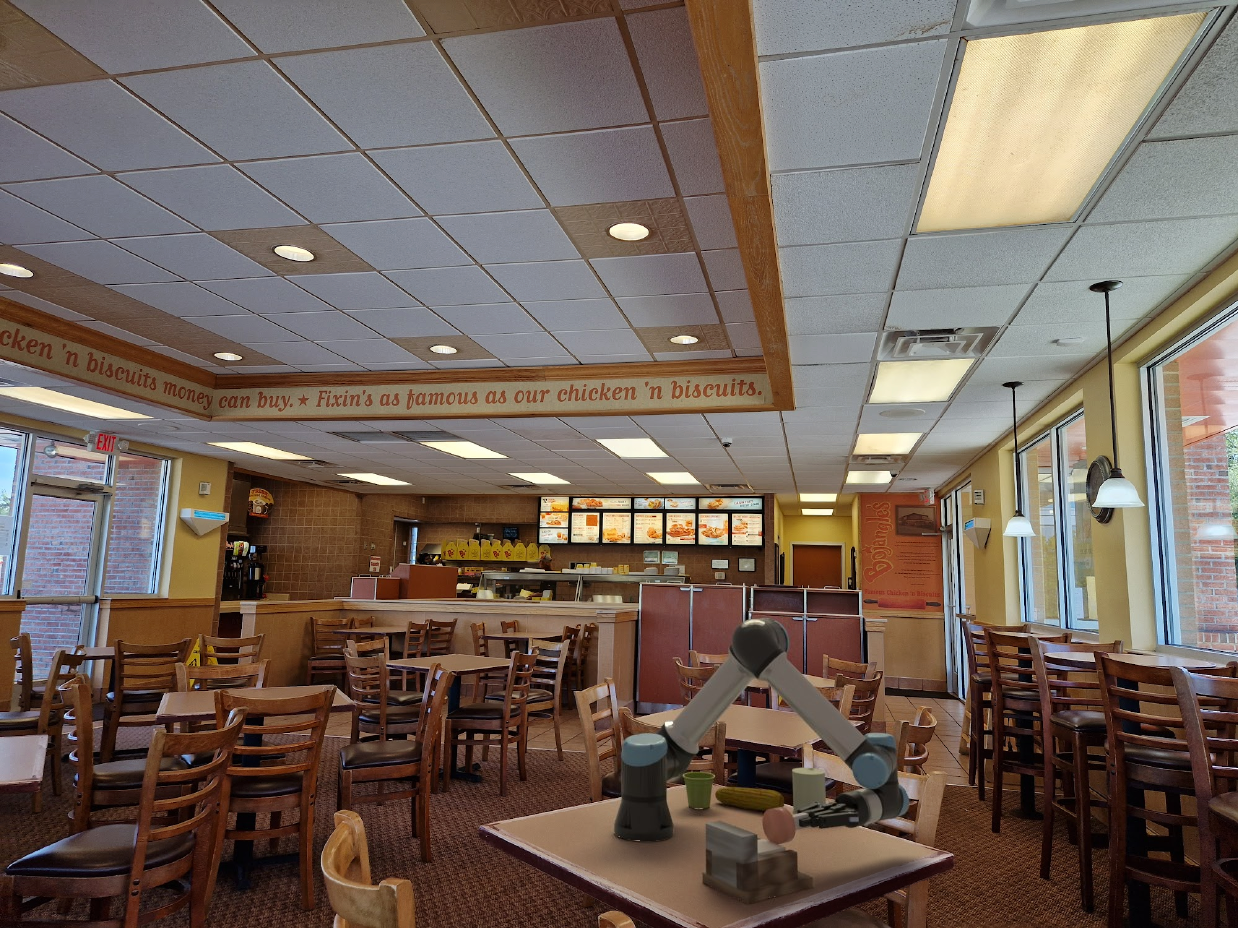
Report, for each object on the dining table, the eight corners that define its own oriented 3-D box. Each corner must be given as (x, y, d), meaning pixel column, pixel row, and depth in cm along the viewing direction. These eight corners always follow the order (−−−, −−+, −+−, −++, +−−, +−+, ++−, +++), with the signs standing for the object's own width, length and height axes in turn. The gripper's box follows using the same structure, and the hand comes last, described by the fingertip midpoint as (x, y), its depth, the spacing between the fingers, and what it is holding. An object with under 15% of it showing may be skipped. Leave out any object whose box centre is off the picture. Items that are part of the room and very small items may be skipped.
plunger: (750, 882, 159) (749, 819, 161) (727, 872, 165) (727, 811, 167) (796, 871, 166) (795, 810, 168) (773, 861, 172) (772, 803, 174)
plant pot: (681, 810, 222) (681, 777, 224) (684, 801, 232) (683, 770, 233) (714, 811, 221) (714, 779, 222) (716, 803, 230) (715, 772, 231)
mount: (747, 904, 154) (746, 838, 156) (702, 882, 165) (702, 821, 167) (812, 887, 163) (811, 825, 165) (765, 867, 175) (764, 810, 177)
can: (829, 812, 222) (828, 767, 224) (823, 820, 214) (821, 773, 216) (796, 808, 226) (795, 764, 228) (789, 816, 217) (788, 770, 220)
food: (786, 812, 222) (785, 789, 223) (778, 816, 217) (777, 793, 218) (719, 801, 234) (718, 779, 235) (710, 804, 229) (710, 783, 230)
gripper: (881, 831, 177) (809, 850, 164) (835, 818, 188) (764, 835, 175) (879, 796, 179) (807, 812, 166) (834, 785, 189) (763, 799, 176)
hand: (785, 824), depth 170 cm, fingers closed
